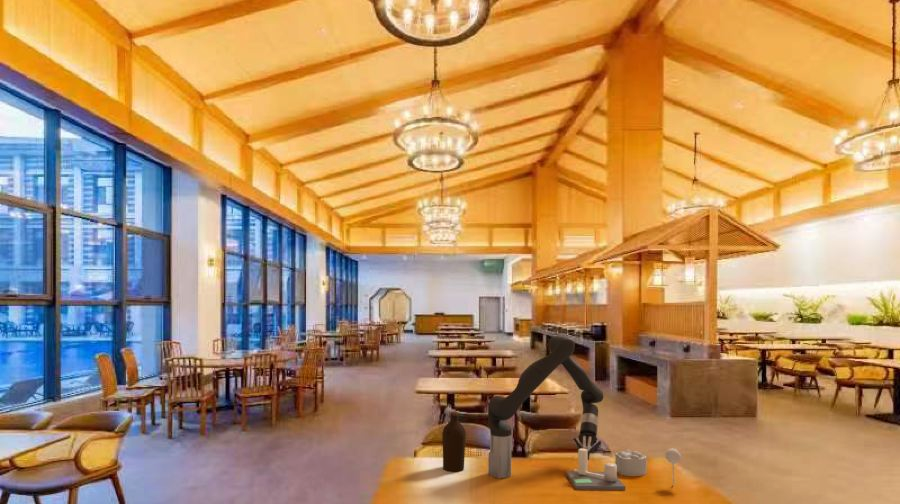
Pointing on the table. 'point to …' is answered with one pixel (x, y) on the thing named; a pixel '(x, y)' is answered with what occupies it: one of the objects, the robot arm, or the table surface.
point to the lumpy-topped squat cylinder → (631, 463)
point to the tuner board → (594, 482)
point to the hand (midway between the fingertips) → (585, 460)
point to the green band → (582, 480)
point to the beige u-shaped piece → (609, 473)
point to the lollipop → (673, 457)
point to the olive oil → (453, 445)
